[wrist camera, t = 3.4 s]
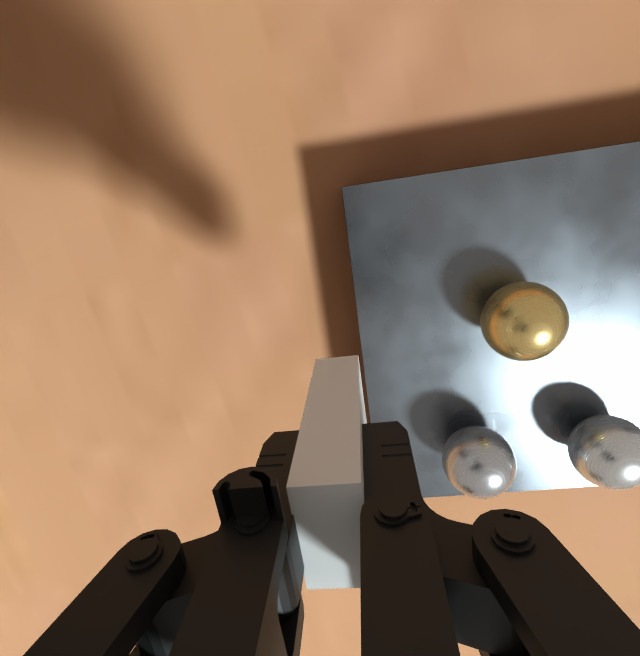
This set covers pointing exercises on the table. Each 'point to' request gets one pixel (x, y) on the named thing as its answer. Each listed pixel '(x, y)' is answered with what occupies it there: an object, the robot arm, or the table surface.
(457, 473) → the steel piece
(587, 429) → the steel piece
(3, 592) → the table surface
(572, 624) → the robot arm
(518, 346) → the brass ball
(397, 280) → the hole plate
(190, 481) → the table surface
